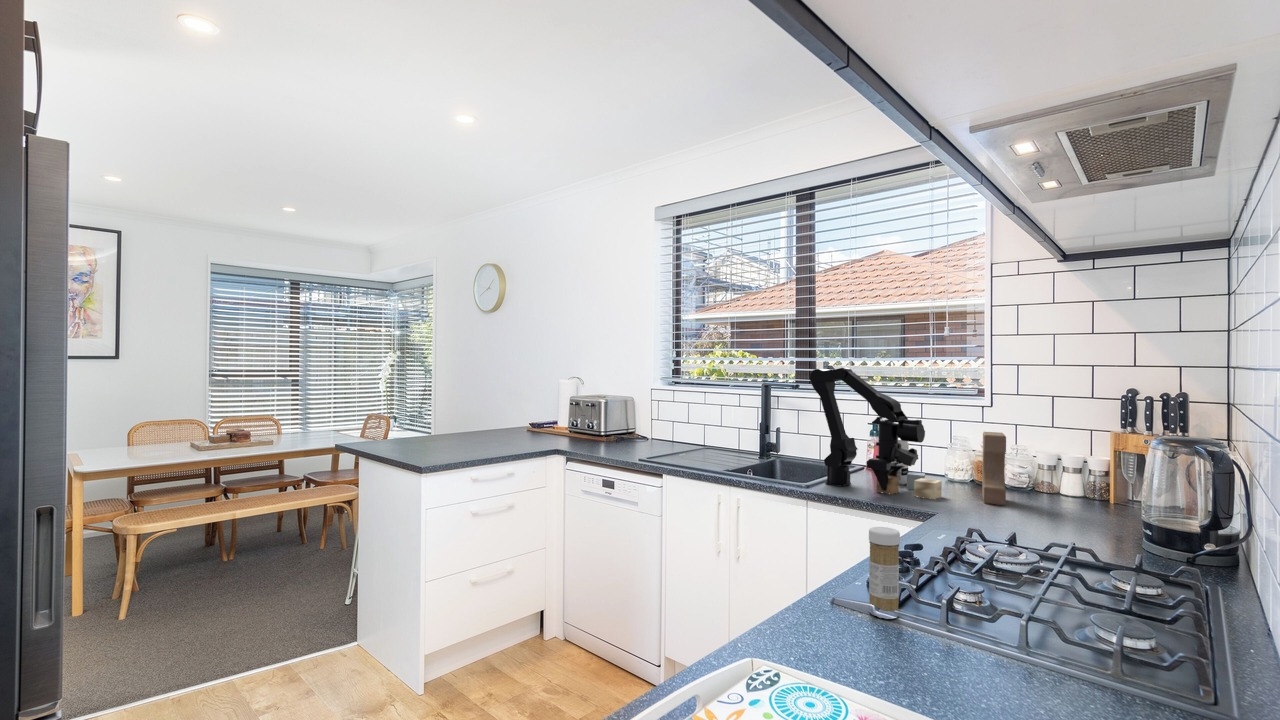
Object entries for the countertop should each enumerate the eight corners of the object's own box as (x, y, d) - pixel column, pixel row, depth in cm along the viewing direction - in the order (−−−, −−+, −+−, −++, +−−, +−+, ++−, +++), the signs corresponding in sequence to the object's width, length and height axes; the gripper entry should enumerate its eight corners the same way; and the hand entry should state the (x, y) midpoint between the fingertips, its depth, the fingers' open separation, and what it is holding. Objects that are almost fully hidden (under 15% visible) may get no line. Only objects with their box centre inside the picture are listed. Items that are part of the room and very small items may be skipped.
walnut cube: (876, 492, 193) (876, 476, 193) (882, 490, 197) (883, 474, 197) (892, 494, 190) (892, 478, 190) (898, 492, 194) (899, 476, 194)
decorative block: (1005, 506, 177) (1006, 436, 177) (982, 503, 179) (983, 434, 179) (1003, 498, 186) (1004, 432, 187) (982, 496, 189) (982, 431, 189)
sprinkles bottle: (896, 611, 99) (897, 526, 99) (901, 622, 94) (902, 534, 94) (866, 608, 100) (867, 524, 100) (870, 619, 95) (871, 532, 95)
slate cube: (906, 489, 199) (906, 474, 199) (908, 487, 204) (908, 471, 204) (923, 491, 197) (923, 475, 197) (924, 488, 201) (925, 473, 201)
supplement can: (877, 480, 214) (878, 437, 214) (900, 480, 215) (900, 437, 215) (889, 484, 206) (890, 440, 206) (913, 484, 207) (913, 440, 207)
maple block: (913, 497, 188) (914, 480, 188) (920, 494, 192) (921, 478, 192) (934, 500, 184) (934, 483, 184) (941, 497, 188) (941, 480, 188)
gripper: (902, 444, 181) (902, 497, 181) (925, 439, 195) (925, 489, 195) (866, 440, 189) (865, 491, 189) (890, 436, 203) (889, 483, 202)
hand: (887, 489), depth 193 cm, fingers closed on walnut cube, 5 cm apart
